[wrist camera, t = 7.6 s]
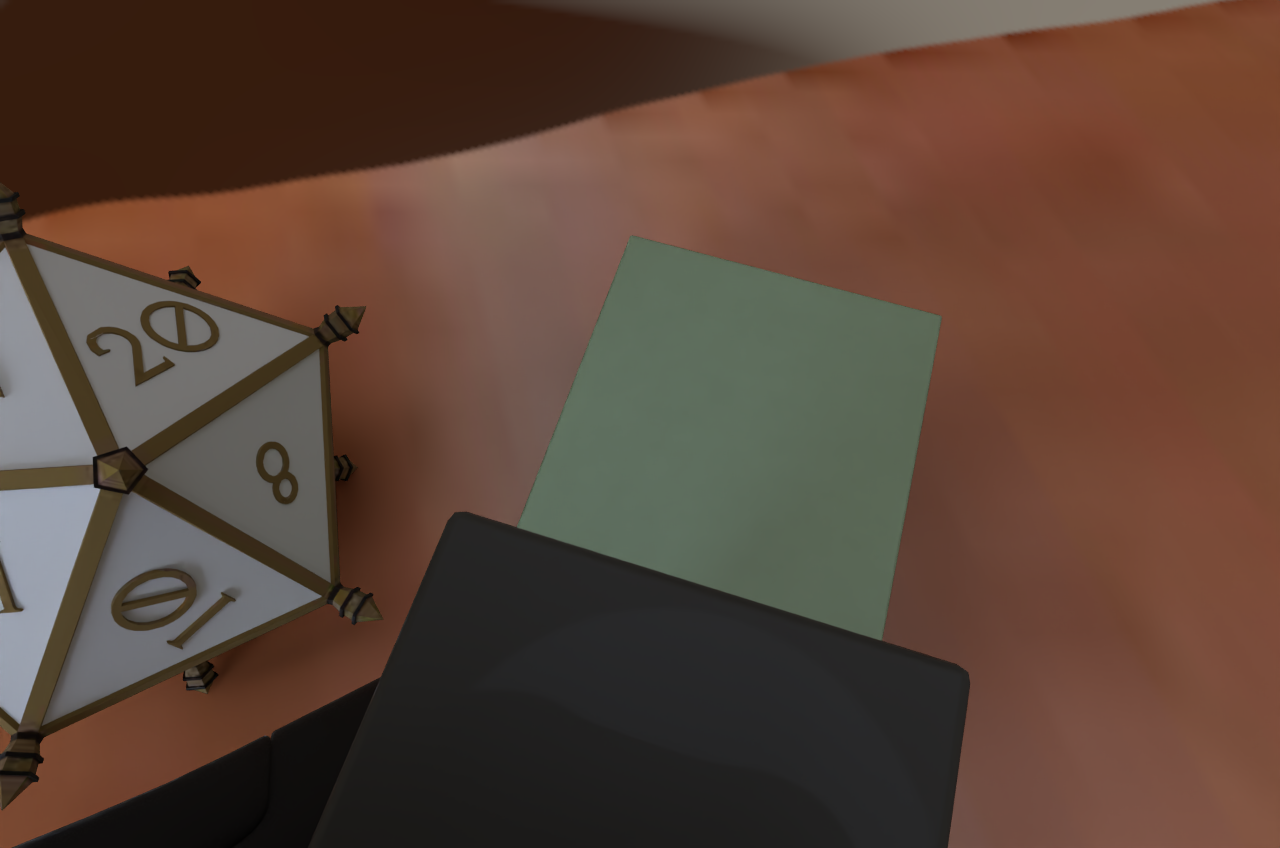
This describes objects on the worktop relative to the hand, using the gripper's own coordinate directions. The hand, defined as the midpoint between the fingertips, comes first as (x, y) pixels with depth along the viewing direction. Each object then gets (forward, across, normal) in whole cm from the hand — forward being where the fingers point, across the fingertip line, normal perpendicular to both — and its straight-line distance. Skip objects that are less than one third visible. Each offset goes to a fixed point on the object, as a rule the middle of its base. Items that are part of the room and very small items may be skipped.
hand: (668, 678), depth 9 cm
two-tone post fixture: (+8, 0, +3) cm, 8 cm away
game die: (+6, +10, +5) cm, 12 cm away
